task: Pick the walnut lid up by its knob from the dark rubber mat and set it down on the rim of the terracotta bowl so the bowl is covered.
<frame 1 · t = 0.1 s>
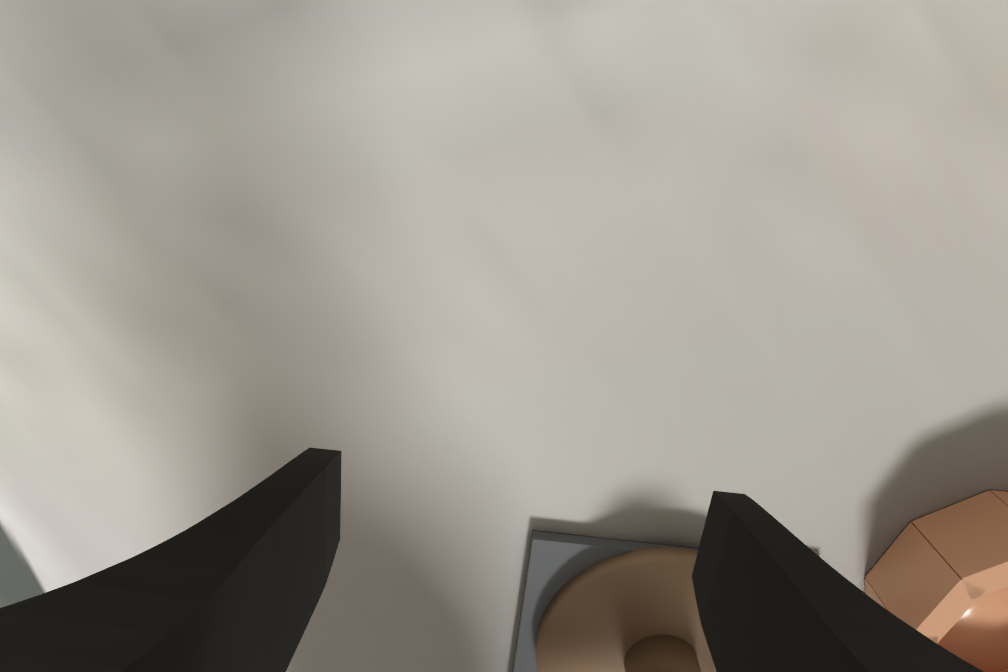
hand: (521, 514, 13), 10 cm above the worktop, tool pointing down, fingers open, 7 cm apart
bowl: (984, 590, 25), on the worktop
mat: (650, 654, 27), on the worktop
lid: (656, 645, 26), resting on mat
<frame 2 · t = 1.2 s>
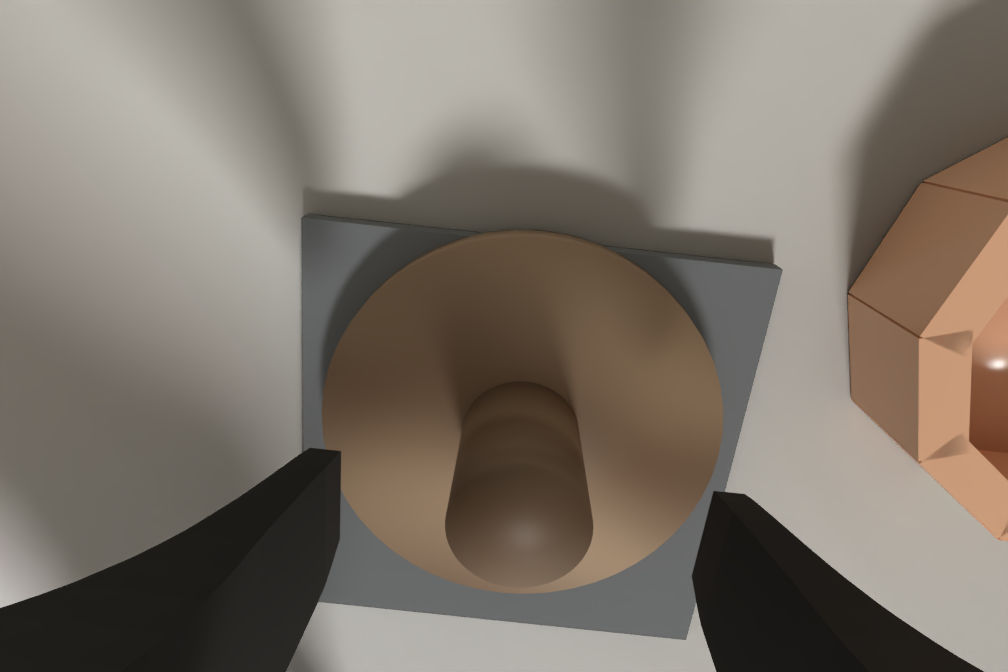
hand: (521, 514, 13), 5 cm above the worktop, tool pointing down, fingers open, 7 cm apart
mat: (516, 443, 17), on the worktop
lid: (520, 418, 16), resting on mat
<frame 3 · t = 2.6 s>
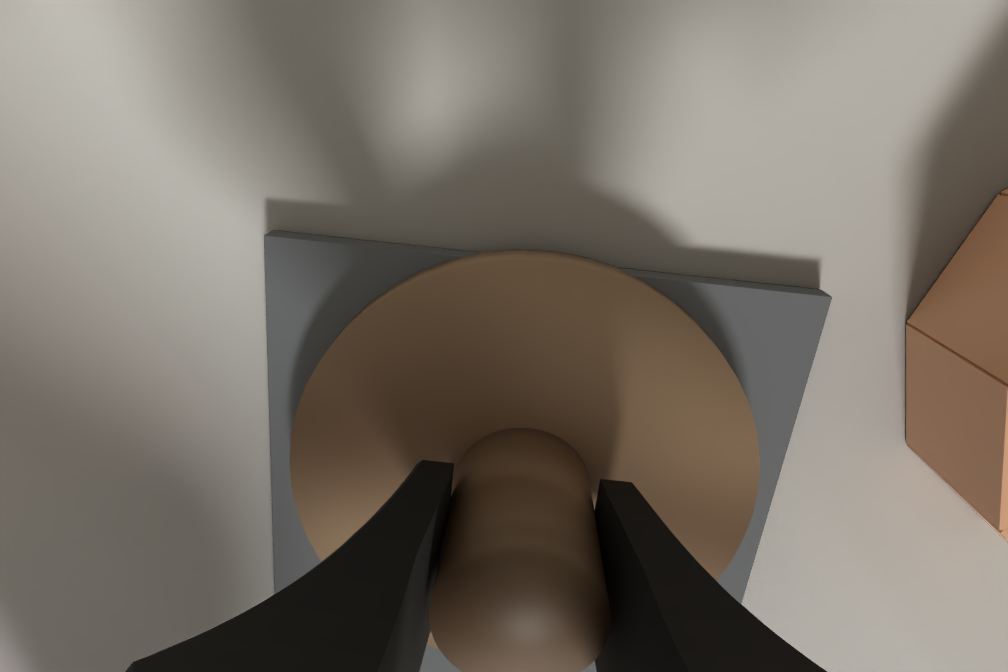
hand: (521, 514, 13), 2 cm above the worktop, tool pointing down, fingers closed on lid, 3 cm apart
mat: (517, 492, 15), on the worktop
lid: (522, 466, 14), resting on mat, touching gripper
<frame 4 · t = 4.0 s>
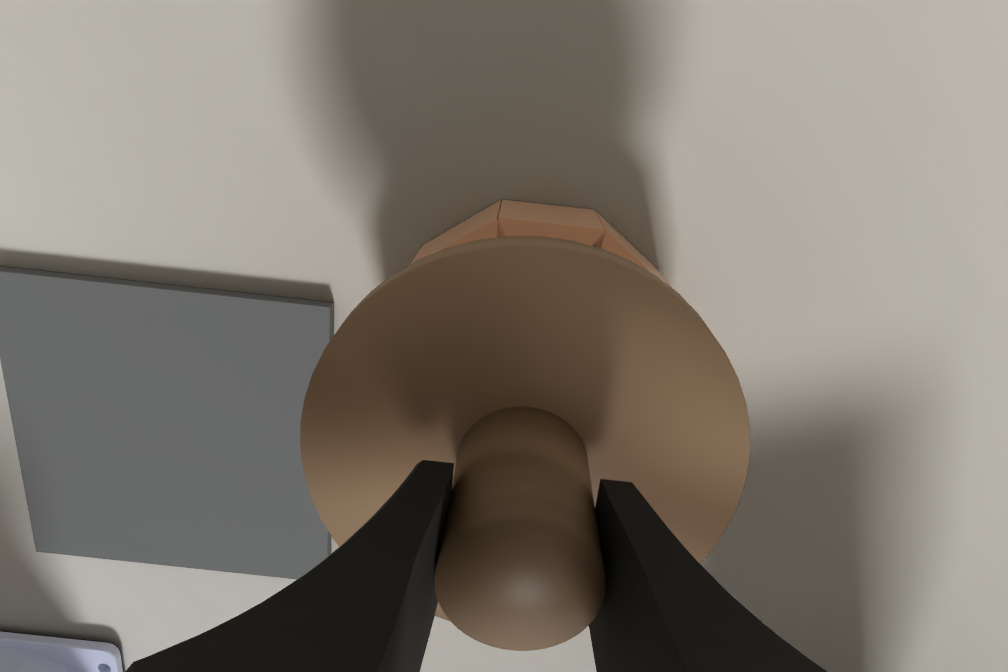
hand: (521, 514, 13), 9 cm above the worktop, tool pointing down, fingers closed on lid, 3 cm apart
bowl: (530, 338, 21), on the worktop
mat: (177, 432, 23), on the worktop
lid: (522, 444, 15), point 7 cm above the worktop, touching gripper
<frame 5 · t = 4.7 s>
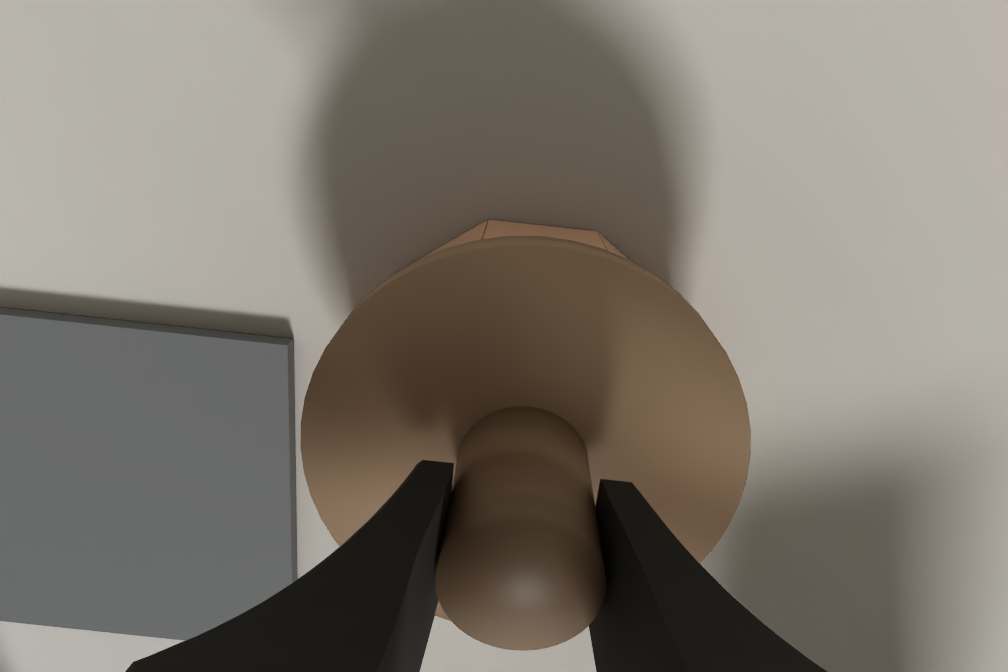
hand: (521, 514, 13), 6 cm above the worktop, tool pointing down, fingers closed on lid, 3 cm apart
bowl: (523, 380, 18), on the worktop
mat: (118, 485, 20), on the worktop
lid: (523, 444, 15), point 4 cm above the worktop, touching gripper
when the fingers open (6 cm above the worktop, at t = 5.3 s): lid stays where it is, resting on bowl.
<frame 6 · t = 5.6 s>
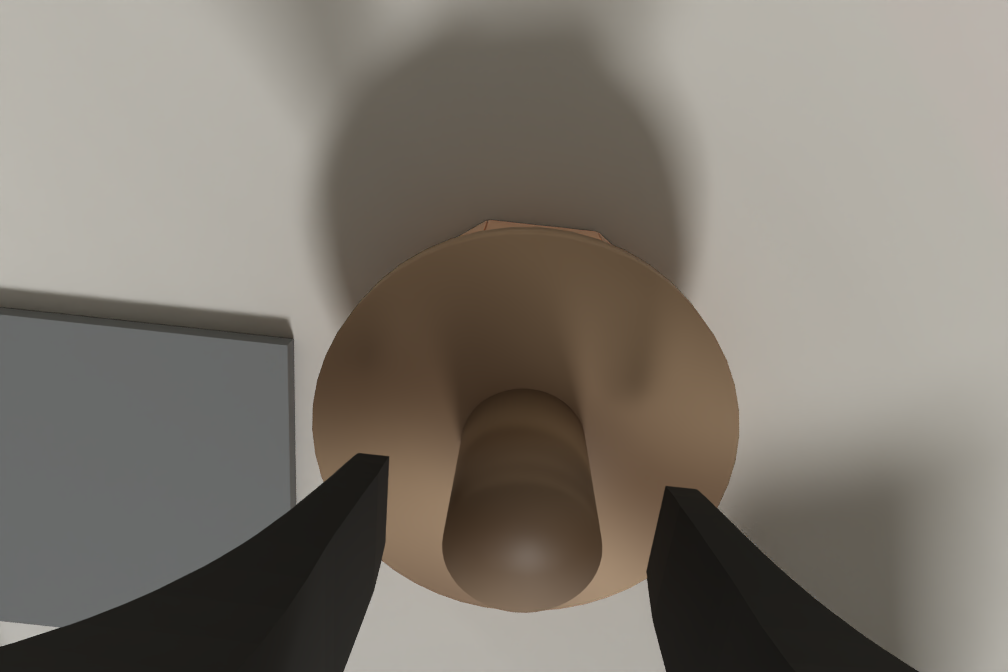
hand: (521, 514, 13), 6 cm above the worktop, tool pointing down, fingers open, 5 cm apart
bowl: (523, 380, 18), on the worktop
mat: (118, 485, 20), on the worktop
lid: (523, 427, 15), point 3 cm above the worktop, touching bowl
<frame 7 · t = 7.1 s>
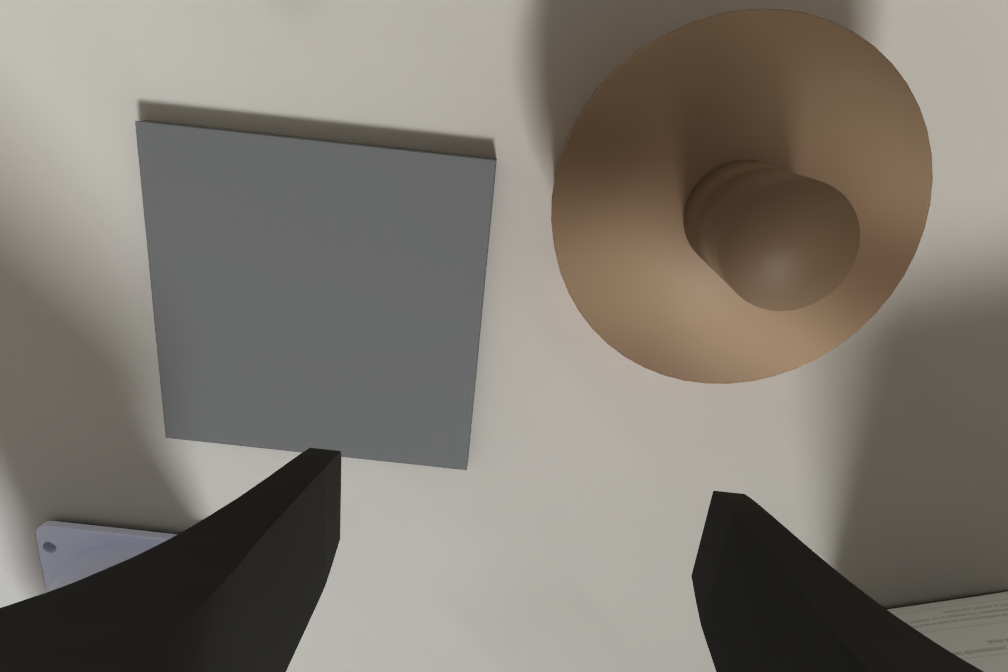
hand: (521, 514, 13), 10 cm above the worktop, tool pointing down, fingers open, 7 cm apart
supplement box: (918, 663, 27), on the worktop
mat: (320, 306, 22), on the worktop
lid: (729, 209, 18), point 3 cm above the worktop, touching bowl
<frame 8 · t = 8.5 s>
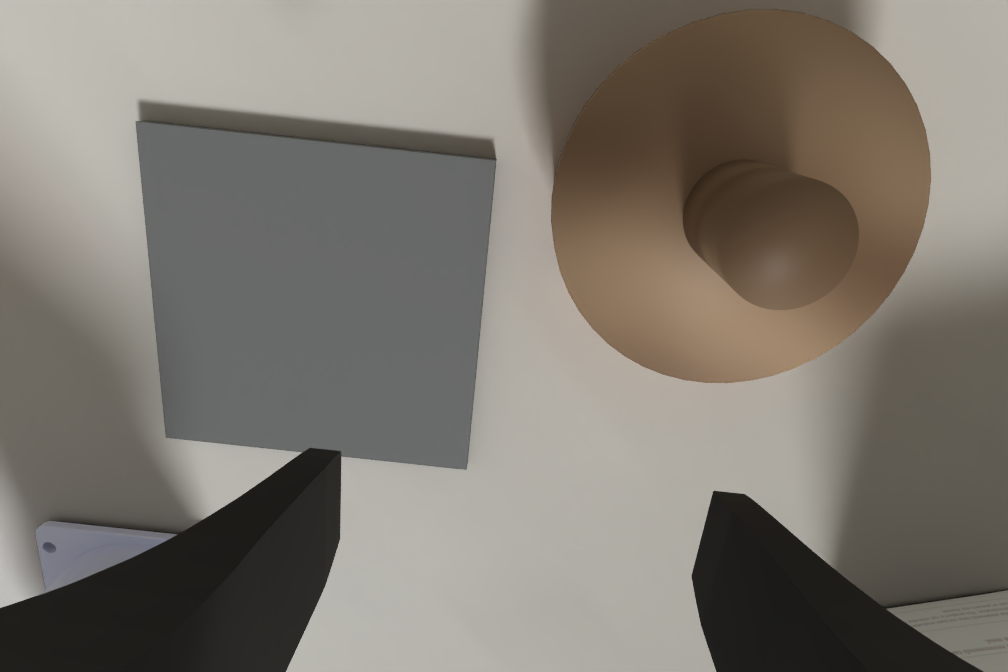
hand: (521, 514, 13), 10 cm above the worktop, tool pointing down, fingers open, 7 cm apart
supplement box: (917, 663, 27), on the worktop
mat: (320, 306, 22), on the worktop
lid: (728, 209, 18), point 3 cm above the worktop, touching bowl
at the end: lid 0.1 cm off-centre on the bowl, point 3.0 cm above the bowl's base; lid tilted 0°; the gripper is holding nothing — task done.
